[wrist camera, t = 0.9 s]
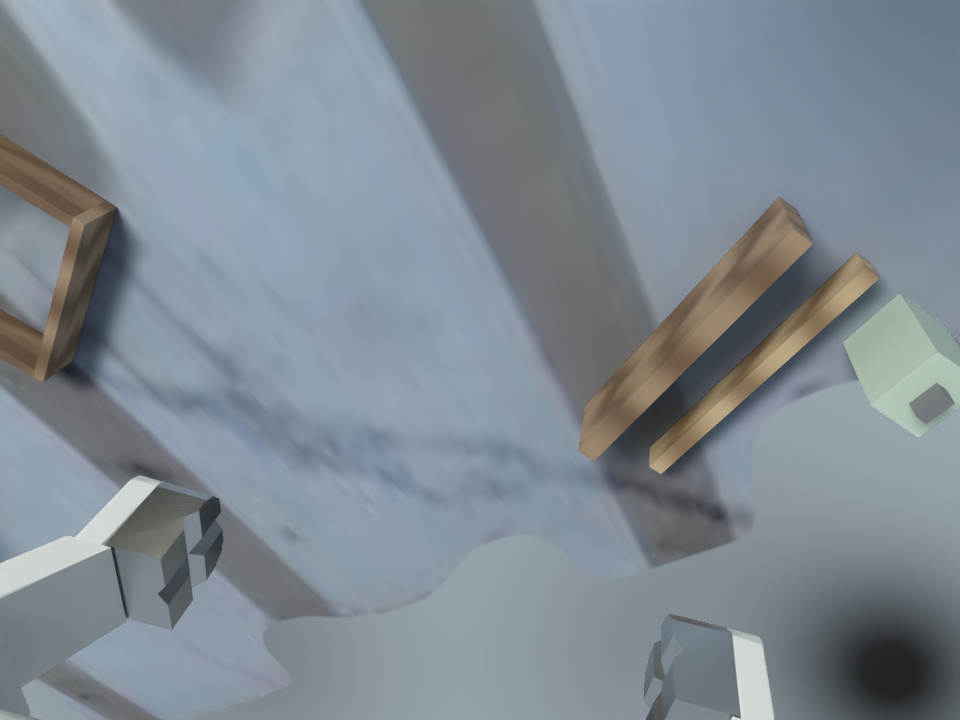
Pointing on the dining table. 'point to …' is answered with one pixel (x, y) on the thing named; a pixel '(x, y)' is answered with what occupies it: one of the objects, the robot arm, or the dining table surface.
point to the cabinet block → (907, 365)
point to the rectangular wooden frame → (77, 270)
